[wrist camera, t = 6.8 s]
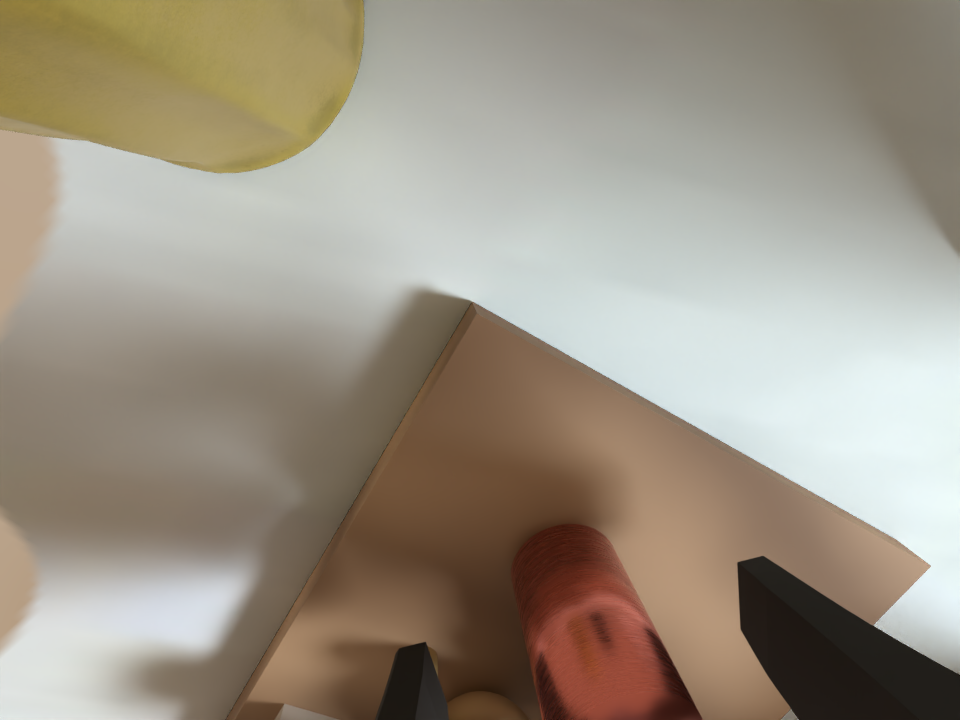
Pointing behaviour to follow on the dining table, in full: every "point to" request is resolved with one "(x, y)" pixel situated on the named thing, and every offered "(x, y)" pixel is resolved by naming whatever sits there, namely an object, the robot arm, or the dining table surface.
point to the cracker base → (543, 504)
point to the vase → (180, 75)
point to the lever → (591, 633)
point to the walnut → (484, 707)
